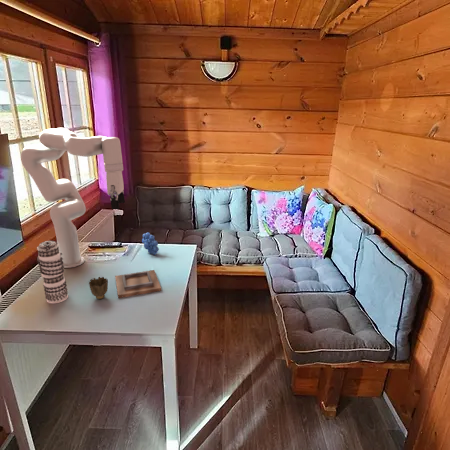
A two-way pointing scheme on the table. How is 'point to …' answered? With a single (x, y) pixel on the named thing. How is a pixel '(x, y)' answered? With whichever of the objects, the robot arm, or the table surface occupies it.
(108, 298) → the table surface
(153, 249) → the grapes
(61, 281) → the decorative candle
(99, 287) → the cup
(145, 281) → the mounting board
